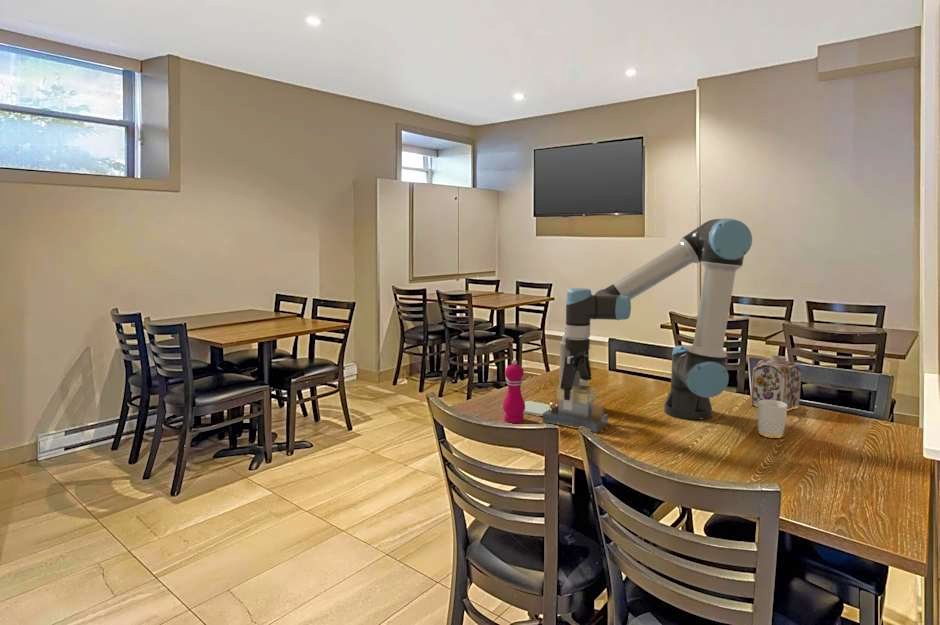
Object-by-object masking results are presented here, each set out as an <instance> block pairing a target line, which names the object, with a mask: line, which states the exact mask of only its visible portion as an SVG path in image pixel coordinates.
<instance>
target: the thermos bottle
mask: <svg viewBox="0 0 940 625" xmlns="http://www.w3.org/2000/svg"><path fill="white" fill-rule="evenodd" d="M564 329H565V328H564ZM561 337H562V338H561V341H560V342H559V371H558V372H559V373H558V374H559V376H558V380H559V381H558V383H559V384H558V389H560V388H561V381H562V376H563V370H564V365H565V357H569V356H570V351H568V350H566V349H565V339H566V338H567V336H566V329H565V330H564V334H563V335H562V336H561ZM580 379H581V377H580V374H579V371H576V375H575V378H574V382H573V385H572V386H578V385H579V383H580Z"/></svg>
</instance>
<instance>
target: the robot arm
mask: <svg viewBox="0 0 940 625" xmlns="http://www.w3.org/2000/svg"><path fill="white" fill-rule="evenodd" d="M679 240H680V241H679V243H678V244H676V245H674V246H672V247H670V248H669V249H667V250H666V251H664V252H663V253H661V254H660V255H658V256H656V257H655V258H653V259H651V260H650V261H648V262H646V263H644V265H641V266H639V268H637V269H635V270H633V271H632V272H629V274H627V275H624V277H622V278H620V279H618V280H617V281H616V282H613V284H610V285H609V286H607V287H606V288H603V289H599V290H598V291H596V292H595V293H594V294H593V293H592V291H591V289H590V288H582V287H581V288H580V287H574V288H568V290H567V291H566V301H565V304H566V305H565V326H564V329H566V336H567V338H566V339H565V349H566V350H568V351H570V356H569V357H565V365H564V370H563V376H562V381H561V389H564V402H563V409H566V410H572V406H573V389H572V385H573V382H574V378H575V375H576V371H579V374H580V377H581V379H580V383H579V385H583V386H589V381H591V380H592V370H591V361H590V353H589V352H590V348H591V347H590V346H591V345H590V344H591V342H590V341H591V340H590V337H591V321H592V320H611V321H612V320H617V321H620V320H628V319H629V318H630V317H631V311H632V304H631V303H632V302H631V300H633V299H635V298H636V297H638V296H639V295H641V294H643V293H644V292H646V291H648V290H650V289H651V288H653V287H655V286H656V285H658V284H659V283H661V282H662V281H665V280H666V279H668V278H670V277H671V276H673V275H674V274H676V273H677V272H679V271H681V270H683V269H684V268H686V267H687V266H689V265H691V264H699V263H701V264H702V265H703V267H704V275H703V280H702V286H701V294H700V299H699V305H698V310H697V311H698V312H697V317H696V318H697V319H696V324H695V325H696V326H695V330H694V331H695V332H694V337H693V343H692V345H691V344H690V345H683V344H681V345H675V346H674V347H673V349H672V354H671V373H670V374H671V377H670V390H669V392H668V395H667V397H666V400H665V401H664V404H663V405H664V409H663V410H664V413H666V414H667V415H669V416H672V417H674V418H678V419H683V418H684V420H693V419H699V420H701V419H700V418H707V417H710V416H711V415H712V416H713V406H712V404H711V400H710V398H714V397H716V396H718V395H720V394H722V393H723V392H724V391H725V390H726V388H727V387H728V385H729V380H730V379H729V378H730V376H729V373H728V372H729V371H728V370H727V368H726V364H727V358H728V354H727V353H726V351H725V350H724V343H725V338H726V337H725V336H726V331H727V327H728V326H727V325H728V320H729V314H730V313H729V312H730V308H731V303H732V297H733V296H732V295H733V291H734V290H733V289H734V284H735V277H736V272H738V270H740V269H741V268H742V267H743V263H744V257H745V255H746V254H747V253H748V252H749V251H750V249H751V247H752V244H753V235H752V231H751V230H750V228H749V227H748V226H747V224H745V223H744V222H742V221H740V220H738V219H735V218H715V219H711V220H707V221H706V222H703V224H701V225H699V226H698V227H696V228H695V229H693V230H692V231H691V232H689V233H688V234H686V235H684V236H683V237H681V238H680V239H679ZM712 416H711V417H712ZM711 417H710V418H711ZM707 419H708V418H707Z"/></svg>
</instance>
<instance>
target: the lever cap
mask: <svg viewBox="0 0 940 625" xmlns="http://www.w3.org/2000/svg"><path fill="white" fill-rule="evenodd" d="M572 389H573V402H577V403H583V404H588V403H589V402H591V401H592V400H593V401H594V400H595V399H596V389H595V388H592V387H591V386H589V385H588V386H583V385H578V386H572ZM559 399H560V400H564V389H561V388H560V389H559V388H558V389H556V400H559Z"/></svg>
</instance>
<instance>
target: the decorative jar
mask: <svg viewBox="0 0 940 625" xmlns="http://www.w3.org/2000/svg"><path fill="white" fill-rule="evenodd" d="M751 379H752V380H751V390H750V391H751V392H750V404H751V405H755V406H758V401H760V400H776V401H780V402H784V403H786V404H787V405H788V408H787V409H790V408H792V407H795V406H800V400H801V399H800V397H801V384H802V370H801V368H800V367H799V366H798V365H797V364H796V363H795V362H793V361H790V360H789V361H788V360H787V358H786V356H782V355H771V356H770V359H769V358H768V359H767V358H766V359H762V360H759V361H758V362H757V364H755V366H754V367H753V371H752V378H751ZM751 405H750V406H751Z"/></svg>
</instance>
